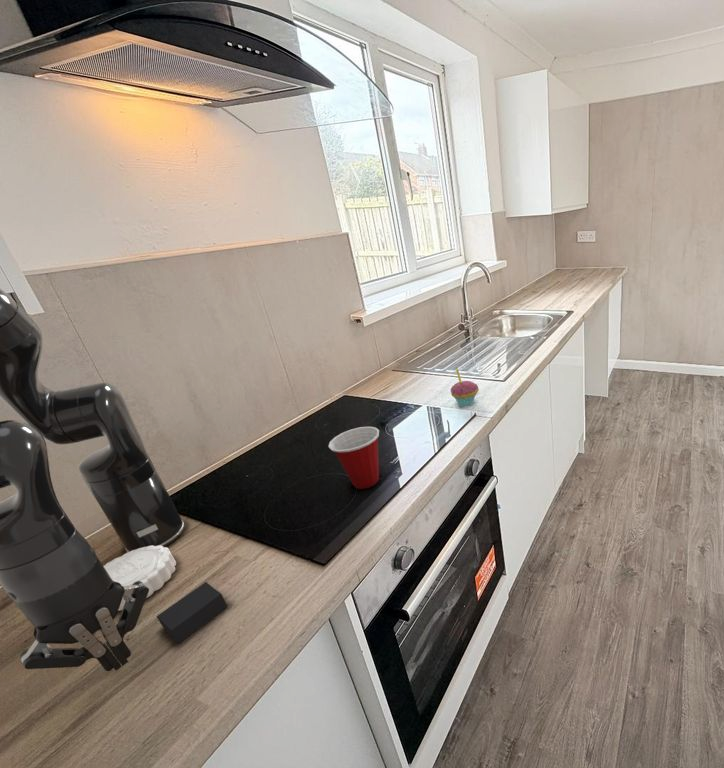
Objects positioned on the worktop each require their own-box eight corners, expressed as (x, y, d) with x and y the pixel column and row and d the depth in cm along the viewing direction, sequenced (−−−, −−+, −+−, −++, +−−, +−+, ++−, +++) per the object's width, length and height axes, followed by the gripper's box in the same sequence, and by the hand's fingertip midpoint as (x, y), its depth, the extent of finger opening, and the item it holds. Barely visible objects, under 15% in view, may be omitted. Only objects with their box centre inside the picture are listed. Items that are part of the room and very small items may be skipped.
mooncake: (174, 546, 80) (166, 532, 79) (179, 583, 72) (171, 568, 71) (91, 583, 73) (81, 569, 72) (87, 629, 65) (75, 613, 64)
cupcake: (447, 407, 127) (441, 371, 122) (462, 395, 134) (457, 361, 129) (470, 411, 123) (465, 374, 119) (485, 399, 130) (481, 364, 125)
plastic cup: (372, 462, 102) (362, 419, 98) (399, 476, 96) (389, 432, 91) (332, 485, 95) (318, 440, 90) (357, 502, 88) (344, 455, 84)
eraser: (164, 629, 64) (156, 616, 63) (212, 594, 69) (205, 581, 68) (179, 644, 61) (170, 630, 60) (227, 606, 67) (221, 593, 66)
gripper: (111, 528, 58) (163, 614, 65) (-33, 603, 47) (46, 695, 54) (132, 547, 54) (185, 635, 61) (-20, 632, 44) (64, 727, 51)
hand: (119, 663), depth 58 cm, fingers closed
